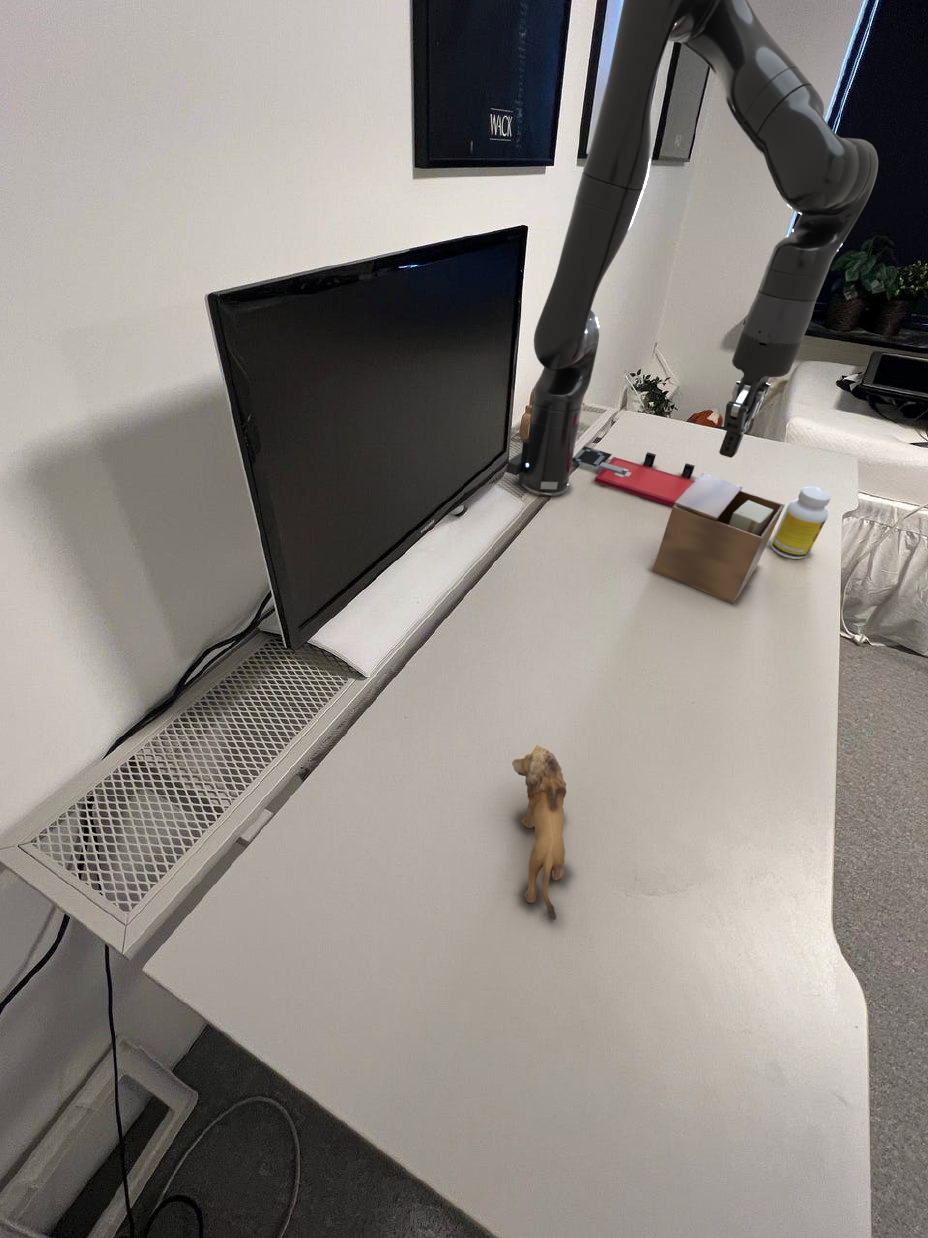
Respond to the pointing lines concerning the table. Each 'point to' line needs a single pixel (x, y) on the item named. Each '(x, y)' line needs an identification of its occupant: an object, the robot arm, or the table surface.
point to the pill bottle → (801, 523)
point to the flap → (708, 496)
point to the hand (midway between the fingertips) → (727, 454)
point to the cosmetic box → (751, 518)
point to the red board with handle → (636, 476)
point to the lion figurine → (544, 819)
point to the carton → (713, 548)
